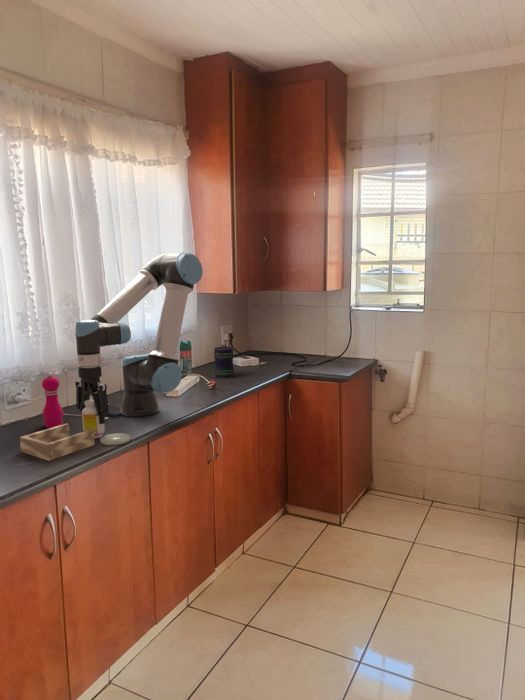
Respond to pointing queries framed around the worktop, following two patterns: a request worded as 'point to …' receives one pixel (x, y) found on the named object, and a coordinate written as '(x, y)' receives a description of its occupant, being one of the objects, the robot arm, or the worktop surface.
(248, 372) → the worktop surface
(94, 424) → the supplement bottle
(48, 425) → the pepper mill
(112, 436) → the sage green dome
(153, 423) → the worktop surface
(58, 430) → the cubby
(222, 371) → the dark blue canister
